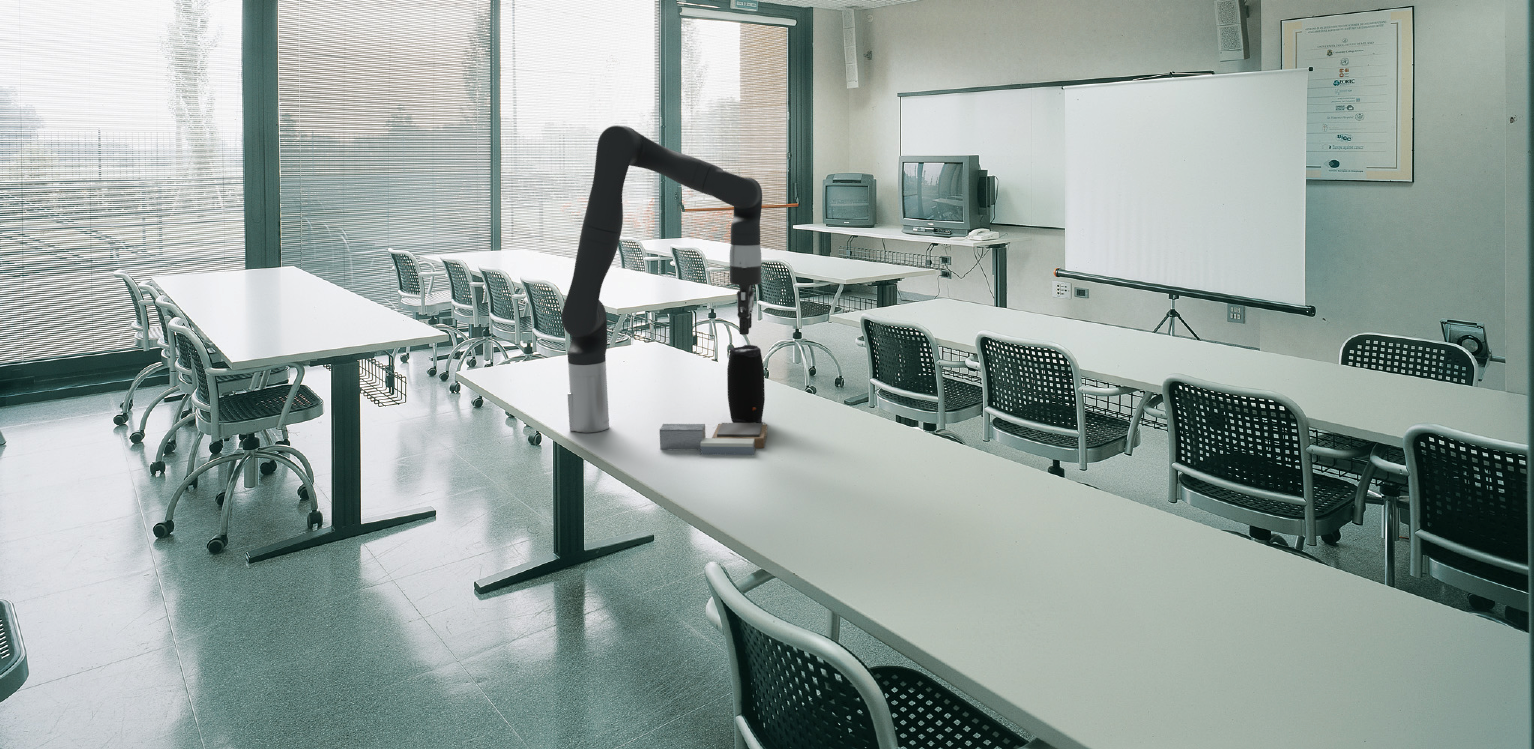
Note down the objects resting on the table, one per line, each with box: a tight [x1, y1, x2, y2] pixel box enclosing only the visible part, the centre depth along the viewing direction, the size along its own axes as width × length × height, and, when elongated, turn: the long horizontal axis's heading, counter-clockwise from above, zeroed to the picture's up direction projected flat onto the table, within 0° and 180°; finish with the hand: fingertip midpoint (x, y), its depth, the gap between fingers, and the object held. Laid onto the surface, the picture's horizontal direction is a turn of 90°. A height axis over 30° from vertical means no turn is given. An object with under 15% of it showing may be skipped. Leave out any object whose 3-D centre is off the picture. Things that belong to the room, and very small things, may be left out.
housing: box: [659, 423, 707, 451], centre depth 224 cm, size 10×5×5 cm, turn 86°
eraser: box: [700, 437, 756, 456], centre depth 219 cm, size 12×4×3 cm, turn 85°
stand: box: [711, 422, 768, 449], centre depth 228 cm, size 12×12×3 cm
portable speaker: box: [726, 344, 766, 423], centre depth 242 cm, size 9×9×20 cm
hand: (745, 331), depth 229 cm, fingers open, 8 cm apart
